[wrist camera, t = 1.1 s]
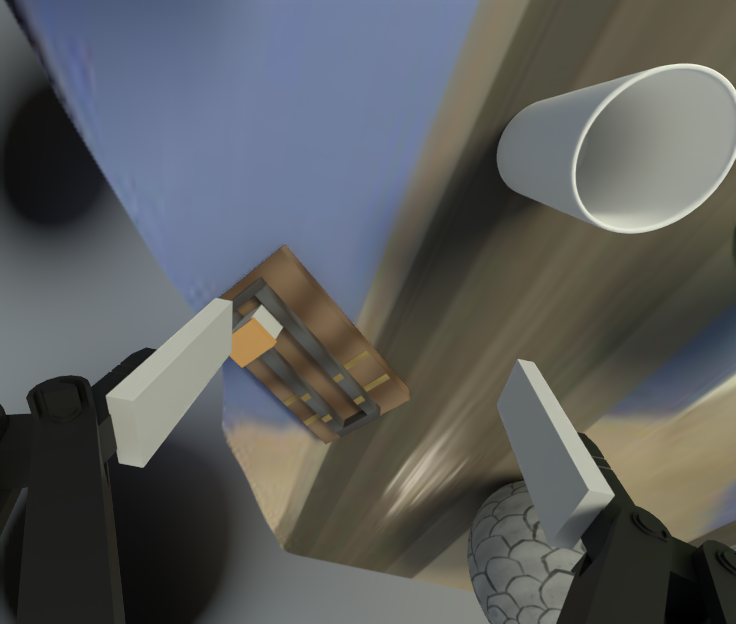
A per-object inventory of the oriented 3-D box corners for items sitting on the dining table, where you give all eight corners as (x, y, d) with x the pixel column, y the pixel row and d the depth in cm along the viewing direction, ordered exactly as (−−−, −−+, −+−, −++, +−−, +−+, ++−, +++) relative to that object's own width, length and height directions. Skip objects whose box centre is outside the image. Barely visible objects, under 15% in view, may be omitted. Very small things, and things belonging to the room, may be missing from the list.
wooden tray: (203, 310, 43) (187, 324, 40) (285, 244, 39) (274, 253, 35) (328, 433, 50) (323, 453, 47) (409, 389, 46) (410, 408, 43)
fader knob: (240, 319, 41) (217, 345, 36) (269, 296, 39) (250, 320, 34) (261, 339, 42) (241, 368, 37) (290, 319, 40) (274, 345, 35)
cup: (548, 210, 35) (652, 258, 21) (479, 170, 34) (538, 191, 20) (609, 128, 32) (784, 116, 17) (534, 80, 31) (655, 26, 16)
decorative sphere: (459, 537, 58) (486, 712, 40) (454, 450, 50) (486, 622, 32) (585, 535, 56) (675, 721, 38) (603, 444, 48) (728, 627, 30)
